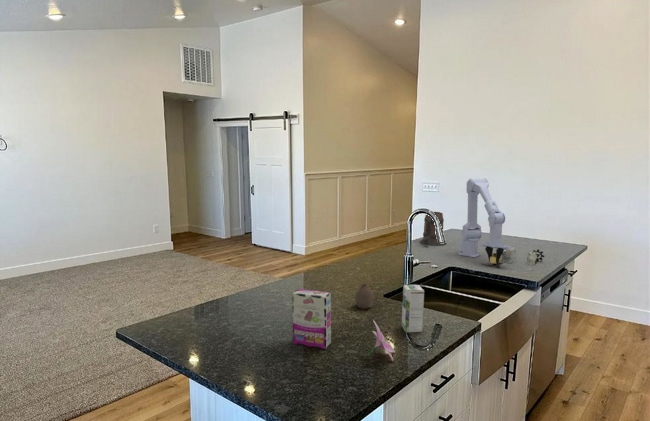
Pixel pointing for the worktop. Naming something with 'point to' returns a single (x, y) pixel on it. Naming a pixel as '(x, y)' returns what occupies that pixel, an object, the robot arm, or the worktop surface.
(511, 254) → the housing
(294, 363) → the worktop surface
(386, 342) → the lily
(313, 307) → the candy bar box
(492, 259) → the gold rounded block
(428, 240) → the tankard
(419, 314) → the syrup box
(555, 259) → the worktop surface
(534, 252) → the valve
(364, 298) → the vase
